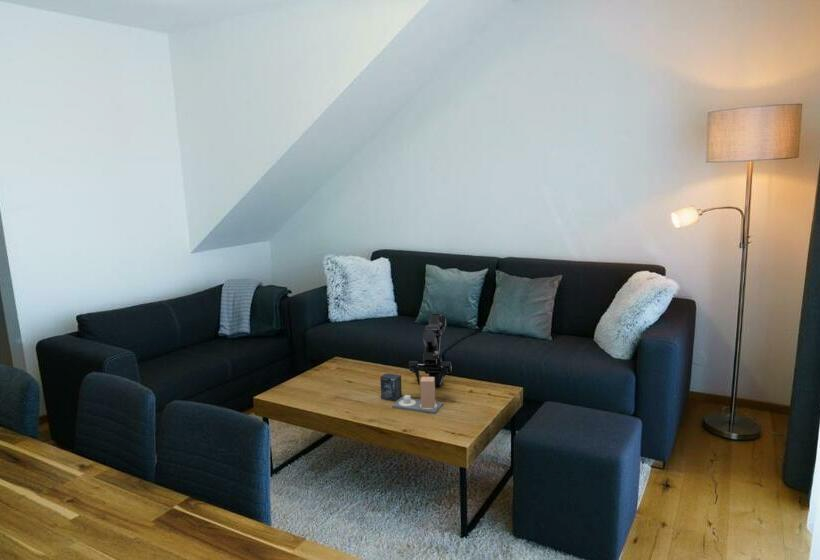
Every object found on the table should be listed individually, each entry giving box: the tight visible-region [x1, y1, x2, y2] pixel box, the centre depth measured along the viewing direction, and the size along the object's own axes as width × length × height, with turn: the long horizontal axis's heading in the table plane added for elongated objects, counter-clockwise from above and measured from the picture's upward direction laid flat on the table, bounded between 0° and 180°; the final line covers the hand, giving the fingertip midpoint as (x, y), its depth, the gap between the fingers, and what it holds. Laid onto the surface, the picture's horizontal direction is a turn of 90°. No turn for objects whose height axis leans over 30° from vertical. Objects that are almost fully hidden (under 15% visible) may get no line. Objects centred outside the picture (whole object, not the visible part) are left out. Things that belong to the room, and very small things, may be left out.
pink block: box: [419, 376, 436, 408], centre depth 249 cm, size 6×6×12 cm
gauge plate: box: [391, 394, 444, 415], centre depth 252 cm, size 10×20×4 cm, turn 67°
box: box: [379, 372, 403, 402], centre depth 262 cm, size 8×6×11 cm
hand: (429, 384), depth 253 cm, fingers open, 9 cm apart
